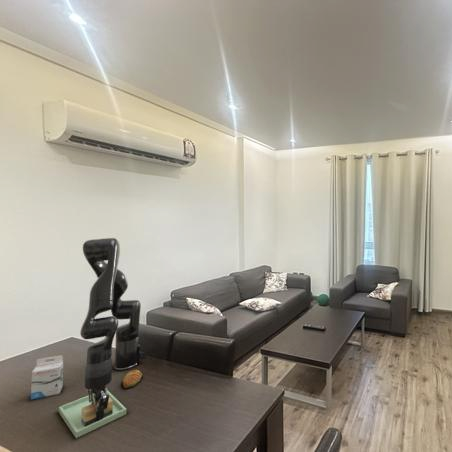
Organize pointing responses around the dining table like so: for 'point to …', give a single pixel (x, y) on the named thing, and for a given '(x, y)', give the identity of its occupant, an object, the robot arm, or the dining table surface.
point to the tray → (74, 415)
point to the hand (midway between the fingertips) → (97, 416)
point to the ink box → (47, 377)
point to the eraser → (90, 412)
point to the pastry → (132, 378)
